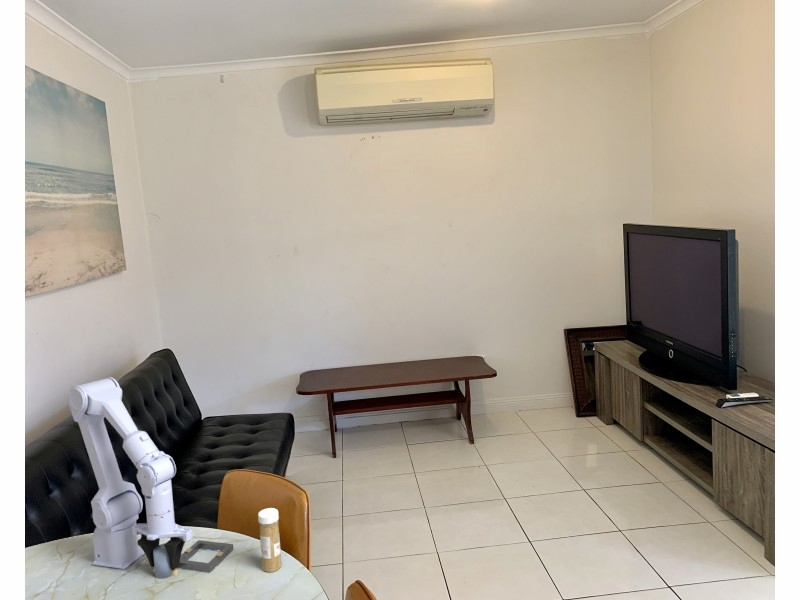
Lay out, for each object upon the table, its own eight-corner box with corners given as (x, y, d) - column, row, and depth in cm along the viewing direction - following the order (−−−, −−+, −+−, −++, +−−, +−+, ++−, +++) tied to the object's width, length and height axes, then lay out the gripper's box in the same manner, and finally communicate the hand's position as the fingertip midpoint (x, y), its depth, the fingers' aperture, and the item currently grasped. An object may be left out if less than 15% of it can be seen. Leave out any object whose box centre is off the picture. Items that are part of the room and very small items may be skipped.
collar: (173, 567, 132) (173, 561, 132) (199, 545, 141) (198, 539, 141) (210, 572, 129) (209, 565, 129) (233, 549, 139) (233, 543, 139)
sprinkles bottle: (285, 568, 130) (281, 512, 129) (266, 575, 127) (261, 518, 126) (277, 559, 134) (273, 505, 132) (259, 566, 131) (255, 511, 130)
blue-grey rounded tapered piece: (148, 576, 129) (146, 552, 128) (161, 566, 133) (159, 541, 132) (170, 579, 127) (167, 554, 127) (182, 568, 131) (180, 544, 131)
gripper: (120, 515, 127) (126, 572, 128) (175, 521, 123) (181, 580, 124) (142, 501, 133) (147, 555, 135) (195, 506, 130) (200, 562, 131)
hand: (165, 566), depth 130 cm, fingers open, 5 cm apart
